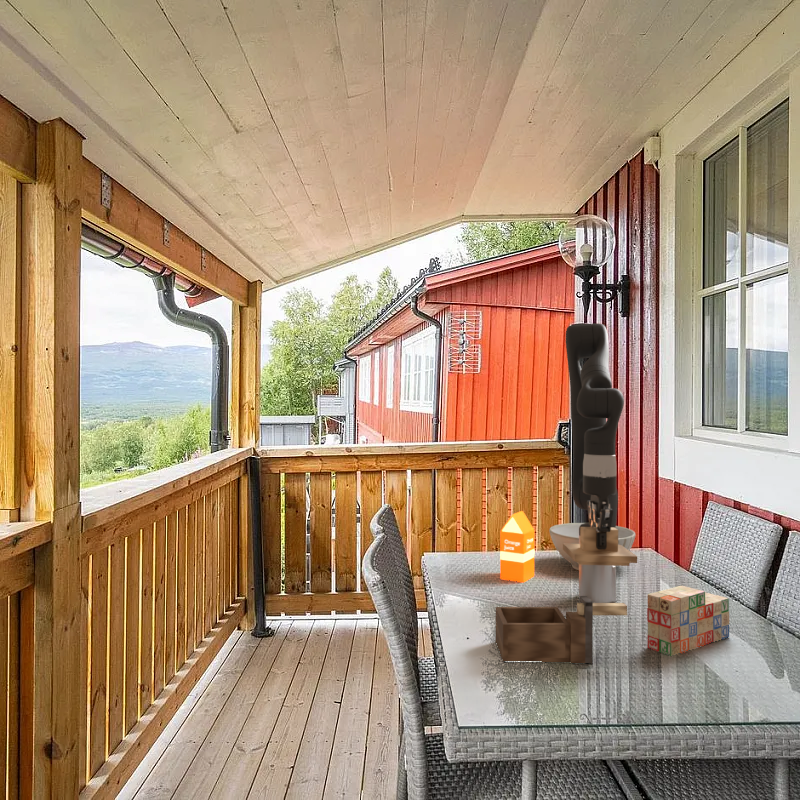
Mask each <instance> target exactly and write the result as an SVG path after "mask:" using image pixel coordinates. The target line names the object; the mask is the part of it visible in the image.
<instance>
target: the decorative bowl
mask: <svg viewBox="0 0 800 800" xmlns="http://www.w3.org/2000/svg"><path fill="white" fill-rule="evenodd" d="M584 523H585V522H571V523H568V522H567V523H561V524H560V523H559V524H555V525H552V526H551V527H550V528H549V531H548V532H549V535H550V538H551V541H552V543H553V545H554V548H555V549H556V550H557V552H558V553H559V555H560V556H561V557H562V558H563V559H564V560H566V562H568V563H570V564H571V567H572V568H573V569H575V570H577V571H579V564H578V563H577V562H575V561H574V560H573V559H572V558H571V557H570V556H569V555H568V554H567V553H566V552H565V551H564V550H563V543H566V544H579V527H580V525H581V524H584ZM615 528H616V529H618V545H622V546H623V547H625V548H626V549H628V550H629V551H630V550H631V549H632V546H633V545H634V542H635V538H636V532H635V531H634V530H633V529H630V528H627V527H624V526H618V525H616V527H615ZM630 552H631V551H630Z"/></svg>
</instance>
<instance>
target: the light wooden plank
mask: <svg viewBox="0 0 800 800" xmlns="http://www.w3.org/2000/svg"><path fill="white" fill-rule="evenodd" d="M576 612H577V613H578V614H579V615H584V604H583V603H580V602H577V603H576ZM593 616H628V605H627V604H625V602H609V603H593Z"/></svg>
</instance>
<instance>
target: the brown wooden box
mask: <svg viewBox="0 0 800 800" xmlns="http://www.w3.org/2000/svg"><path fill="white" fill-rule="evenodd" d="M579 603H583V604H584V615H579V614H578V613H577V611H565V616H564V614H563V613H562V611H561V610H560V609H559V607H558V606H495V644H496V643H497V645H496V647H497V646H498V647H497V650H498V649H499V650H498V652H499V651H500V653H499V655H500V654H501V655H500V657H502V658H501V660H502V659H503V661H542V662H571V663H591V664H590V665H593V663H594V662H593V657H594V656H593V648H594V647H593V646H594V645H593V643H594V642H593V638H594V637H593V634H594V632H593V628H594V627H593V626H594V625H593V624H594V623H593V622H594V621H593V620H594V619H593V616H594V615H593V602H592V601H591V600H590V599H589V598H588V597H587V596H580V598H579ZM503 661H502V662H503ZM571 663H570V664H571Z"/></svg>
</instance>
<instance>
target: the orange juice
mask: <svg viewBox="0 0 800 800" xmlns="http://www.w3.org/2000/svg"><path fill="white" fill-rule="evenodd" d="M499 534H500V539H499V540H500V541H499V542H500V544H499V546H500V549H499V550H500V552H499V553H500V557H499V559H500V560H499V561H500V564H499V565H500V568H499V569H500V571H499V572H500V580H504V581H509V580H510V581H511V582H516V581H517V583H522V584H523V583H525V582H527V581H529V580H531V579H532V578H534V577H535V553H536V552H535V528H534V527H533V526H532V523H531V522H530V520H529V519H528V517H527V516H526V514H525V512H524V511H523V510H521V511H518V512H516V513H512V514H511V515H510V517H509V518H508V519H507V521H506V523H505V524H504V526H503V527H502V528H501V530H500V533H499Z"/></svg>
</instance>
